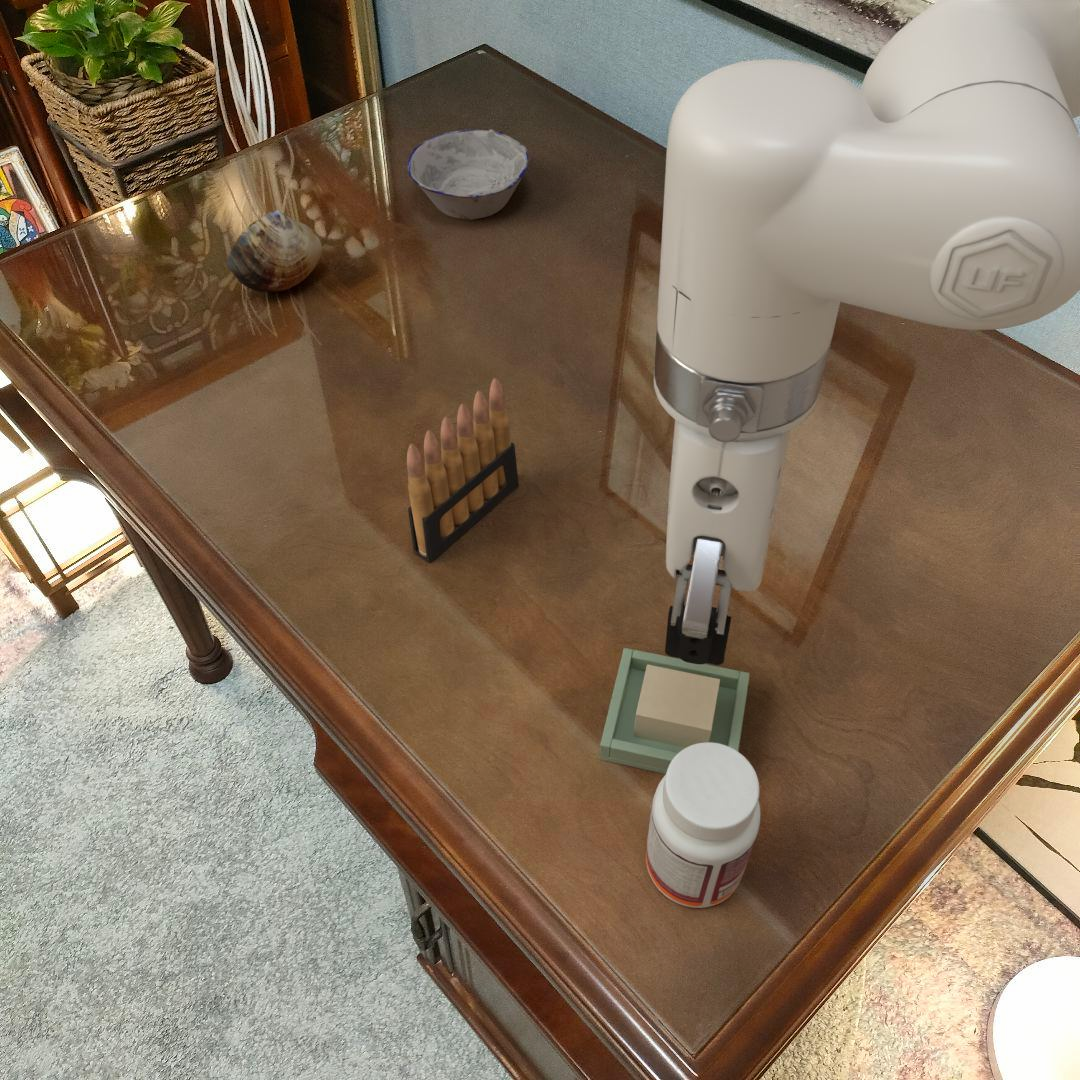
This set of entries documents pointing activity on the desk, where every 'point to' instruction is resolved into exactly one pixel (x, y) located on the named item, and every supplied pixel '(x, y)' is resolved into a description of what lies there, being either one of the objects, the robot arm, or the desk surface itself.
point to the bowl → (469, 171)
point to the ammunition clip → (460, 474)
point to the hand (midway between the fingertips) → (707, 586)
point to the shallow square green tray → (624, 703)
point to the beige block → (676, 707)
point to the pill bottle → (703, 825)
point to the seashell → (274, 253)
